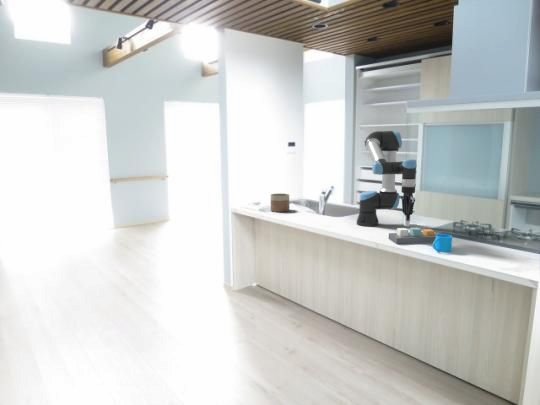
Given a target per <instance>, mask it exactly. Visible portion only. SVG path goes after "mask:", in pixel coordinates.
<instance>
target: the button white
mask: <svg viewBox="0 0 540 405" xmlns="http://www.w3.org/2000/svg"><path fill="white" fill-rule="evenodd" d="M408 232H409V229H408V228H406V227H397V228H396V233H397V235H398V236H400V237H407V236H408Z"/></svg>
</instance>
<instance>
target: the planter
mask: <svg viewBox="0 0 540 405" xmlns="http://www.w3.org/2000/svg"><path fill="white" fill-rule="evenodd" d="M270 211H271V212H274V213H286V212H288V211H289V212H290V194H288V193H281V192H280V193H271V194H270Z"/></svg>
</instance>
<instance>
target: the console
mask: <svg viewBox="0 0 540 405" xmlns="http://www.w3.org/2000/svg"><path fill="white" fill-rule="evenodd" d="M436 234H438V233H437V232H435V231H434V235H431V236H426V235H424V234H423V231H421V236H412V235H410V231H408V236H407V237H400V236H398V235H397V232H389V233H388V240H390V241H391V242H393V243H394V244H395V245H406V244H431V243H432V244H433V242H434V241H435V239H436Z"/></svg>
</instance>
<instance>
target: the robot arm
mask: <svg viewBox="0 0 540 405" xmlns="http://www.w3.org/2000/svg"><path fill="white" fill-rule="evenodd" d="M402 141H403V140H402V136H401V133H400V131H397V130H384V131H383V130H382V131H381V130H380V131H379V130H377V131H373V132H371V133H370V134H369V135H367V136H366V139H365V140H364V146H365V149H366V150H367V151H368V152H369V155H370V157H371V160H372V162H373V163H372V166H371V169H372V174H374V175H378V176H381V177H382V178H381V188H380V189H379V192H378V191H376V190H366V191H363V192H360V194H359V199H358V200H359V206H358V207H359V211H358V212H359V213H358V216H357V219H356V225H357V226H362V227H375V226H378V225H379V222H380V221H379V219H378V216H377V211H378V210H396V209H397V208H398V207H399V204H400V201H401V207H402V208H401V210H402V213H403V216H404V218H403V220H404V221H403V226H405V227H410V226H411V225H410V222H411V220H410V219H411V215H413V212H414V208H415V202H416V199H414V195H413V194H415V192H416V183H417V182H416V180H417V179H416V178H417V177H416V176H417V167H418V166H417V160H416V159H414V158H413V159H411V158H406V159H405V158H404V159H403V160H402V161H397V160H396V159H397V153H398V152H399V149H401V148H402V145H403V144H402V143H403V142H402ZM396 175H401V181H400V182H401V185H402V186H401V190H400V191H401V193H402V195H403V196H400V193H399V192H398V191H397V189H396ZM400 199H401V200H400Z"/></svg>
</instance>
